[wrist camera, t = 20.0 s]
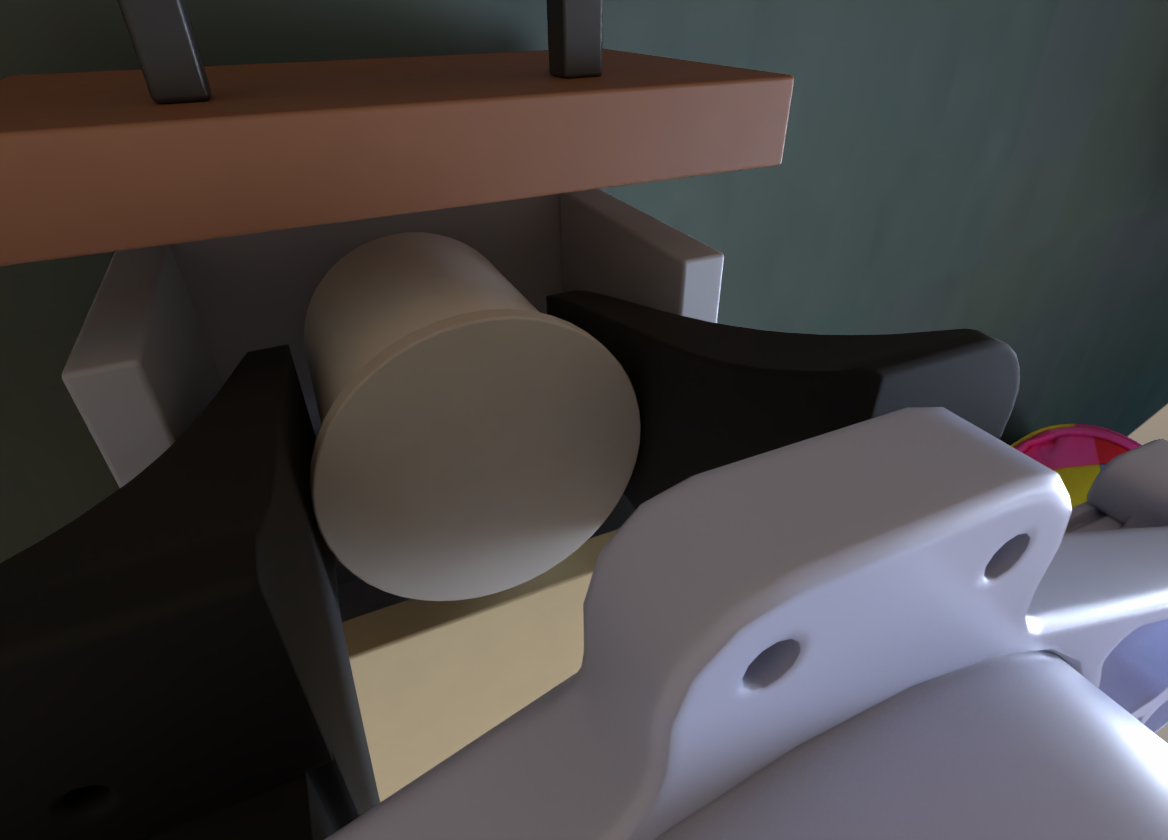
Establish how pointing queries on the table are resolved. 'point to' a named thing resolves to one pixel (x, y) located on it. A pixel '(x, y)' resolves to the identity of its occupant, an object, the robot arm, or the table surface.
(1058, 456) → the pencil case
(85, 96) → the drawer
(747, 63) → the table surface
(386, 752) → the wooden drawer cabinet
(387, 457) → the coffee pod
